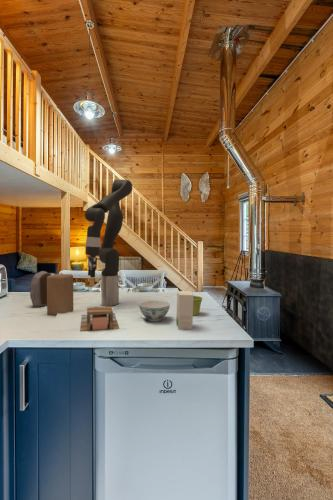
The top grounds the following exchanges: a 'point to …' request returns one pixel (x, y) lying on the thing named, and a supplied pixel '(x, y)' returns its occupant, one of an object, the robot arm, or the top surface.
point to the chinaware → (154, 309)
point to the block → (59, 293)
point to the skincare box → (184, 309)
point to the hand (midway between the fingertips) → (91, 276)
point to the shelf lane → (87, 319)
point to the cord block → (99, 321)
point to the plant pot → (196, 304)
